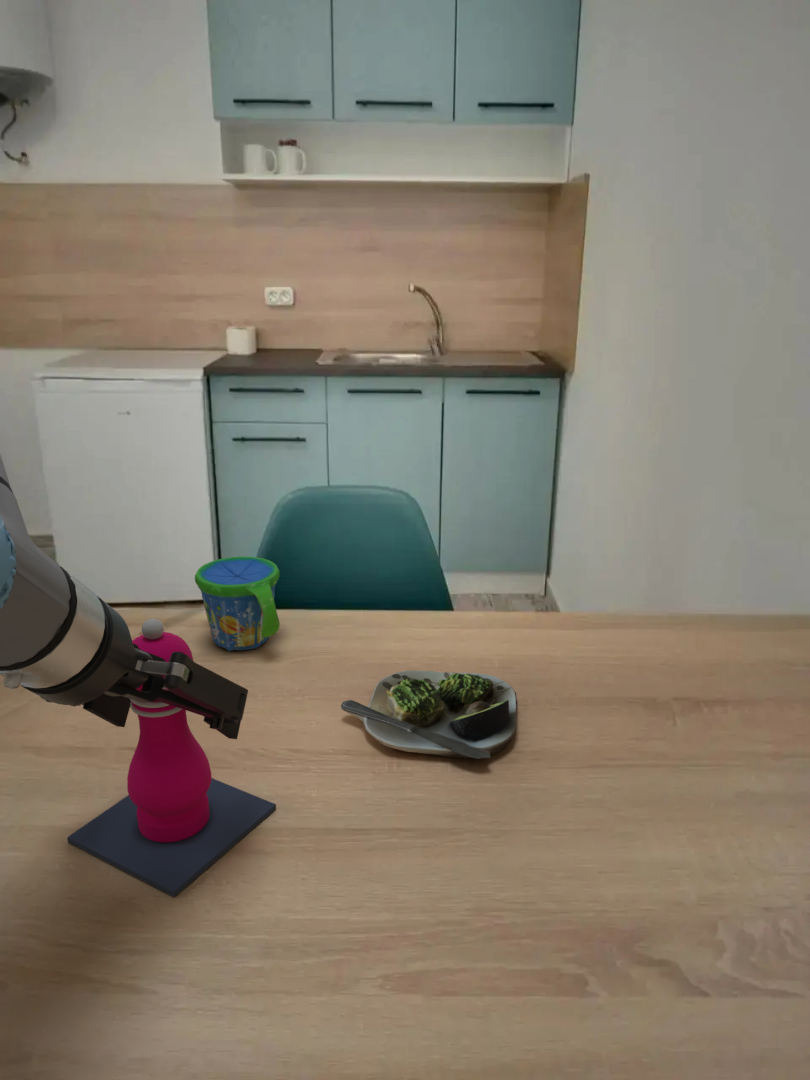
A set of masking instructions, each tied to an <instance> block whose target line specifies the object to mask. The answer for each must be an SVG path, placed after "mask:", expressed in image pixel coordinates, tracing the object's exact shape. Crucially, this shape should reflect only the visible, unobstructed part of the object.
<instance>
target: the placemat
mask: <svg viewBox="0 0 810 1080" xmlns="http://www.w3.org/2000/svg"><path fill="white" fill-rule="evenodd" d="M206 794H207V796H208V802H209V819H208V821H207V823H206V825H205V826H204V827H203V828H202V829H201V830H200V831H199V832H198V833H196V834H195V835H193V836H191V837H189V838H186V839H183V840H180V841H176V842H156V841H152V840H150V839H148V838H146V837H144V836H143V835H142V834H141V832H140V830H139V827H138V820H137V806H136V805H135V804H134V803H133V802H132V800H131V799H130V797H129V794H128V795H126V796H124V797H123V798H122V799H121V800H119V801H118V802H116V803H115V804H113V805H112V806H111V807H109V808H107V809H106V810H104V811H103V812H101V813H100V814H99V815H97V816H96V817H94V818H93V819H92V820H89V822H87V823H86V824H84V825H83V826H81V827H79V829H77V830H75V831H74V832H73V833H71V834H69V835H68V836H67V838H66V839H67V843H68V844H70V845H72V846H74V847H76V848H78V849H80V850H82V851H84V852H86V853H87V854H90V855H92V856H93V857H95V858H97V859H99V860H101V861H103V862H105V863H107V864H109V865H111V866H113V867H115V868H117V869H119V870H120V871H122V872H124V873H126V874H129V875H130V876H132V877H134V878H136V879H138V880H140V881H141V882H144V883H146V884H148V885H150V886H151V887H154V888H155V889H157V890H159V891H161V892H163V893H165V894H167V895H169V896H170V897H173V898H175V897H177V896H178V895H179V894H180V893H181V892H182V891H183V890H185V889H186V888H187V887H188V886H189V885H190V884H192V883H193V882H194V881H195V880H196V879H197V878H198V877H200V876H201V875H202V874H203V873H205V871H207V870H208V869H209V868H211V866H212V865H214V864H215V863H216V862H217V861H218V860H220V858H221V857H223V856H224V855H225V854H227V853H228V852H229V851H230V850H231V849H232V848H234V847H235V846H236V845H237V844H238V843H239V842H240V841H241V840H243V839H244V838H245V837H246V836H247V835H249V834H250V832H252V831H253V830H254V829H256V828H257V827H258V826H259V825H260V824H261V823H262V822H263V821H264V820H265V819H266V818H268V817H269V816H270V815H272V814H273V813H274V812H275V811H276V810H277V804H276V803H274V802H271V801H269V800H267V799H264V798H262V797H259V796H256V795H254V794H252V793H250V792H247V791H246V790H245V791H244V790H242V789H239V788H237V787H234V786H232V785H230V784H228V783H225V782H222V781H220V780H218V779H215V778H213V777H212V778H211V784H210V787H209V789H208V791H207V792H206Z"/></svg>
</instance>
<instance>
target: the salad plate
mask: <svg viewBox="0 0 810 1080" xmlns="http://www.w3.org/2000/svg"><path fill="white" fill-rule="evenodd" d="M518 704H519V703H518V699H517V692H516V691H515V689H514V687H513V686H512V685H511V684H509V682H507V681H505V680H503V679H502V678H499V677H496V676H494V675H491V674H488V673H487V674H486V673H480V672H479V673H478V672H448V671H433V670H415V669H414V670H411V669H409V670H402V671H397V672H395V673H392V674H389V675H386V676H385V677H383V678H381V679H380V680H379V681H378V682H377V684H376V685H375V686H374V690H373V692H372V694H371V697H370V700H369V703H368V704H367V705H365V704H362V703H360V702H358V701H355V700H353V699H348V700H343V701H342V702H341V704H340V709H341V710H342V711H344V712H345V713H347V714H350V715H351V716H354V717H356V718H357V719H359V720H360V721H361V722H362V723H363V726H364V728H365V731H366V733H368V735H370V736H371V737H372V738H373V739H375V740H376V741H378V742H379V743H380V744H381V745H383V746H384V747H387V748H391V749H395V750H398V751H402V752H407V753H417V754H426V755H432V756H433V755H435V756H440V757H446V758H451V759H467V760H468V759H469V760H470V759H471V760H474V759H475V760H477V759H479V760H481V759H491V756H494V755H496V754H498V753H500V752H501V751H503V750H504V749H505V748H506V747H507V746H508V745H509V744H510V742H511V741H512V740H513V739H514V736H515V734H516V731H517V710H518Z"/></svg>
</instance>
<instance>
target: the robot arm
mask: <svg viewBox="0 0 810 1080" xmlns="http://www.w3.org/2000/svg"><path fill="white" fill-rule="evenodd" d="M25 523H26V522H25V521H24V518H23V515H22V512H21V508H20V506H19V503H18V499H17V497H16V496H15V493H14V491H13V489H12V487H11V484H10V481H9V477H8V474H7V471H6V468H5V465H4V462H3V458H2V455H1V454H0V676H2V677H4V679H3V682H2V684H3V687H4V688H8V689H11V690H15V689H18V688H19V687H20V686H21V687H22V688H24V689H25V690H27V691H29V692H31V693H32V694H35V695H37V696H39V697H40V698H41V700H43V701H45V702H47V703H50V704H51V703H53V704H57V705H62V706H70V707H81V706H82V709H83V710H85V711H87V712H89V713H90V714H93V715H94V716H96V717H98V718H99V719H102V720H104V721H106V722H108V723H110V724H111V725H112V726H115V727H119V728H125V726H126V723H127V719H128V716H129V712H130V709H131V707H130V703H131V700H130V699H133V700H136V701H139V702H143V703H144V702H153V701H155V700H157V701H160V702H163V703H166V704H169V705H172V706H175V707H178V708H181V709H184V710H186V712H190V713H193V714H196V715H199V716H202V717H203V722H204V723H206V724H207V725H208V726H209V729H211V730H216V731H217V732H219V733H220V734H222V735H223V736H224V737H226V738H227V739H229V740H231V739H232V740H238V736H239V733H240V727H241V723H242V721H243V717H244V714H245V713H244V712H245V708H246V705H247V704H246V703H247V698H248V694H249V689H248V688H245V687H244V686H242V685H240V684H238V683H236V682H234V681H232V680H230V679H228V678H226V677H224V676H222V675H220V674H219V673H216V672H215V671H212V670H210V669H208V668H206V666H205V667H204V666H202V665H200V664H198V663H196V662H195V661H194V659H193V660H192V659H191V658H190V657H189V656H188V655H186V654H184V653H182V652H173V653H172V654H171V657H170V659H169V662H166V661H165V660H164V659H163V658H161V657H158V656H156V655H153V654H150V653H148V652H145V651H143V650H140V649H139V647H138V646H137V645H136V644H134V643H133V642H132V640H133V639H132V635H131V632H130V629H129V626H128V624H127V622H126V621H125V618H124V617H123V616H122V615H121V613H119V612H118V611H117V610H115V609H114V608H113V607H112V606H110V604H108V603H107V602H106V601H104V600H103V599H102V598H101V597H99V596H98V595H97V594H96V592H94V591H93V590H92V589H90V588H89V587H87V586H86V585H85V584H84V583H83V582H81V581H80V580H78V578H76V577H75V576H73V575H72V574H71V573H70V572H68V571H67V570H66V569H65V568H64V567H63V566H61V565H60V564H59V563H58V562H56V561H55V560H53V559H52V558H51V557H50V556H48V554H46V553H45V552H44V551H43V550H42V549H40V548H39V547H38V546H37V545H36V544H35V542H34V541H33V540H32V538H31V536H30V534H29V533H28V529H27V526H26V524H25ZM142 684H143V686H142V690H141V691H139V690H136V689H137V688H139V687H140V686H141V685H142Z"/></svg>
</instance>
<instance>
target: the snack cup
mask: <svg viewBox="0 0 810 1080" xmlns="http://www.w3.org/2000/svg"><path fill="white" fill-rule="evenodd" d="M280 576H281V574H280V569H279V568H278V565H277V564H276V563H274V562H273V561H271V560H269V559H266V558H263V557H259V556H258V557H257V556H245V555H244V556H229V557H224V558H223V557H222V558H219V559H215V560H212V561H209V562H207V563H204V564H203V565H201V566H200V567H199V568H198V569H197V570H196V573H195V574H194V582H195V584H196V585H197V587H198V589H199V590H200V592H201V598H202V602H203V606H204V610H205V615H206V619H207V622H208V626H209V631H210V635H211V638H212V641H213V642H214V643H215V645H216V646H218V647H219V648H224V649H225V650H227V651H229V652H231V651H234V650H235V651H248V650H252V649H257V648H259V647H260V646H261V645H263V644H265V643H266V642H267V641H268V640H269V638H270V637H271V636H274V635H276V634H277V632H279V630H280V625H281V623H280V619H279V615H278V611H277V608H276V603H275V596H276V595H275V591H276V590H275V589H276V585H277V583H278V581H279V579H280Z"/></svg>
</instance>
